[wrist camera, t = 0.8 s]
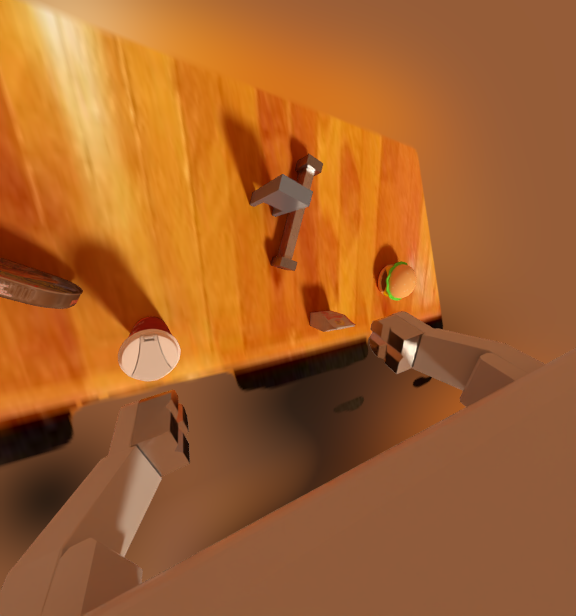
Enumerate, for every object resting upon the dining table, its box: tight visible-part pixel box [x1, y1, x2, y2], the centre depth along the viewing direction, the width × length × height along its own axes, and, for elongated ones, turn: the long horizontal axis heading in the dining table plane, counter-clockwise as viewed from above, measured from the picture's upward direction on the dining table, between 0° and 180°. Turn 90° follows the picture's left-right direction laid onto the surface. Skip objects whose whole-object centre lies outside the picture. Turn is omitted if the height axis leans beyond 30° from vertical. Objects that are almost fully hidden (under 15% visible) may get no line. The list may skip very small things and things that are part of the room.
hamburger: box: [378, 262, 416, 300], centre depth 72 cm, size 12×12×9 cm
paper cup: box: [118, 317, 180, 381], centre depth 38 cm, size 8×8×14 cm
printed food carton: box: [310, 311, 355, 332], centre depth 60 cm, size 4×7×10 cm, turn 87°
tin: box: [0, 258, 83, 309], centre depth 31 cm, size 15×3×8 cm, turn 61°
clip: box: [250, 174, 313, 217], centre depth 45 cm, size 6×3×13 cm, turn 72°
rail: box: [271, 154, 323, 271], centre depth 52 cm, size 24×4×4 cm, turn 162°
